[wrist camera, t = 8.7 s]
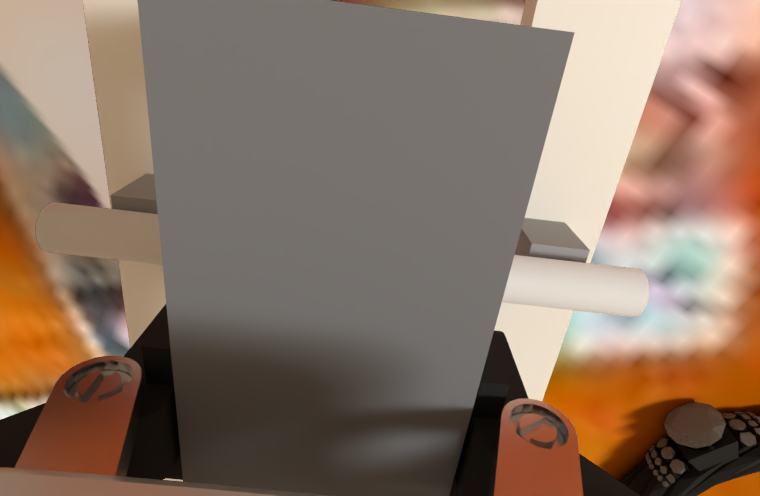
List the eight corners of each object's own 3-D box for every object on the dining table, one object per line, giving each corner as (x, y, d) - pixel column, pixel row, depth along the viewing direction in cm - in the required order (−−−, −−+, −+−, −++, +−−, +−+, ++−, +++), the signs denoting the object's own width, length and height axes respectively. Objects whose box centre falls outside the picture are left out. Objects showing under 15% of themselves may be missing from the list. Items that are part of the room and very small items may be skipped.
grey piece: (307, 8, 16) (134, -26, 5) (451, 27, 16) (574, 32, 5) (292, 339, 22) (198, 643, 11) (397, 350, 22) (405, 660, 11)
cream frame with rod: (487, 330, 32) (551, 528, 20) (210, 300, 32) (89, 485, 19) (583, -40, 23) (828, -123, 10) (192, -93, 22) (-71, -254, 10)
